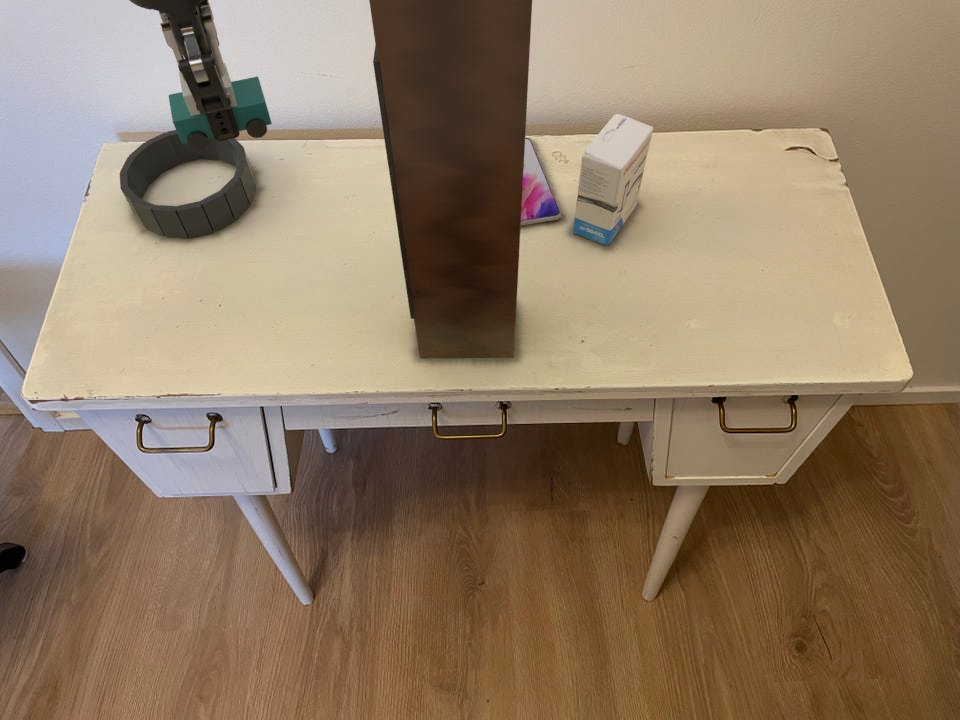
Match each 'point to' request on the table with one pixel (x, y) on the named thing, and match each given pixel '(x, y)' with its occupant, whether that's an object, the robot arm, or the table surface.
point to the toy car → (244, 105)
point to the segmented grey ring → (191, 216)
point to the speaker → (456, 163)
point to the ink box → (611, 178)
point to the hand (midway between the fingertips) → (224, 120)
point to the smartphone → (536, 190)
